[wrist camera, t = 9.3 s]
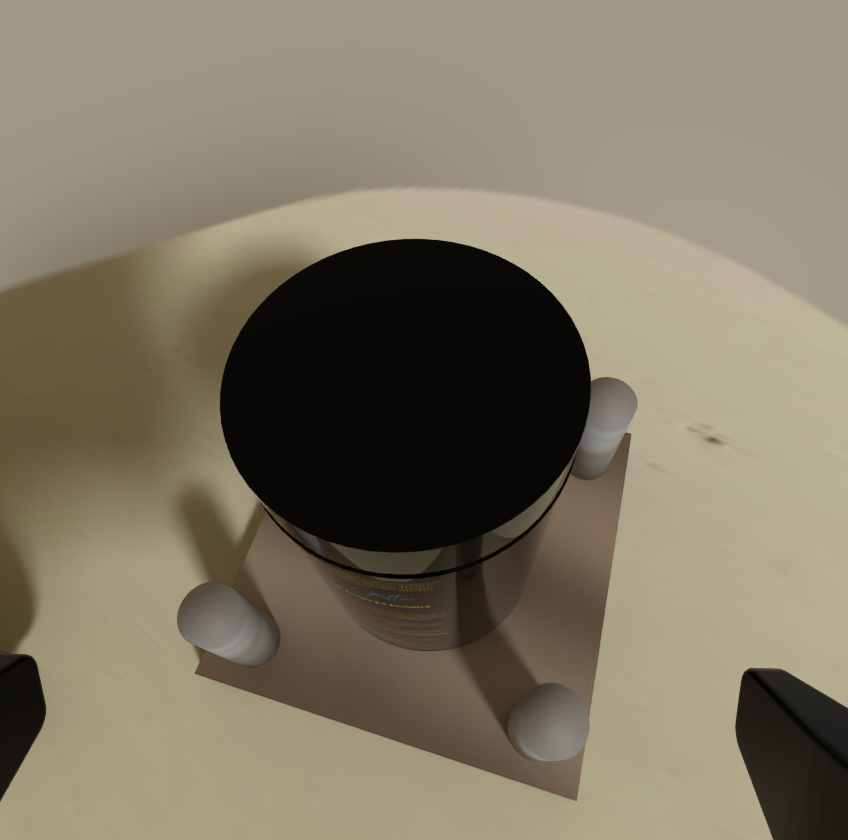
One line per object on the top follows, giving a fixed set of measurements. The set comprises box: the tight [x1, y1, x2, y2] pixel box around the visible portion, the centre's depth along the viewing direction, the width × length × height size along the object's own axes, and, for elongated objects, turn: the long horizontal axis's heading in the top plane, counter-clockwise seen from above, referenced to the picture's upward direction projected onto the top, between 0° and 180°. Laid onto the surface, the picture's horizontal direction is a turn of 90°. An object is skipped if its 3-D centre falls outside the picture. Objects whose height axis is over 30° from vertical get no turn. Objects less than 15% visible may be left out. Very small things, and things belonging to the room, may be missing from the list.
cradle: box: [177, 377, 637, 801], centre depth 19 cm, size 12×12×5 cm
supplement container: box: [220, 239, 591, 652], centre depth 16 cm, size 7×7×10 cm
